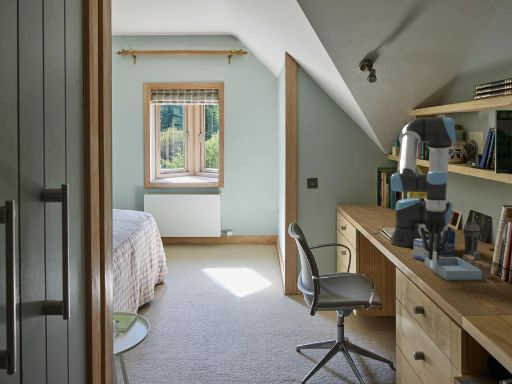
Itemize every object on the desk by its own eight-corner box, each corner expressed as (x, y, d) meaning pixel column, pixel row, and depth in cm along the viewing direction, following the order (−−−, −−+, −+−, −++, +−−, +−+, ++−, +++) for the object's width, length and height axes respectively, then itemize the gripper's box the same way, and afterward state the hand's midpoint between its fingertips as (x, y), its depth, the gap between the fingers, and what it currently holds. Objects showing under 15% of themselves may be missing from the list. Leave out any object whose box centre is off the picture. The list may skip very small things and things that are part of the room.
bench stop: (462, 266, 212) (463, 247, 211) (469, 266, 212) (470, 247, 211) (483, 278, 194) (484, 258, 193) (490, 278, 194) (491, 257, 193)
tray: (424, 265, 213) (424, 257, 213) (456, 265, 214) (457, 257, 213) (445, 280, 191) (446, 271, 191) (481, 279, 192) (482, 270, 191)
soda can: (446, 256, 228) (447, 231, 227) (435, 253, 234) (436, 228, 233) (457, 255, 231) (458, 229, 230) (446, 252, 237) (447, 227, 236)
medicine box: (412, 258, 225) (413, 239, 224) (417, 256, 229) (418, 238, 228) (429, 261, 220) (429, 242, 219) (433, 259, 223) (434, 240, 222)
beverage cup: (459, 254, 233) (461, 212, 230) (466, 252, 237) (468, 210, 235) (474, 257, 227) (476, 214, 225) (482, 255, 232) (484, 212, 229)
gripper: (422, 211, 195) (420, 270, 198) (455, 211, 196) (452, 270, 198) (416, 208, 203) (413, 265, 205) (447, 208, 203) (445, 265, 206)
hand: (433, 267), depth 202 cm, fingers closed
